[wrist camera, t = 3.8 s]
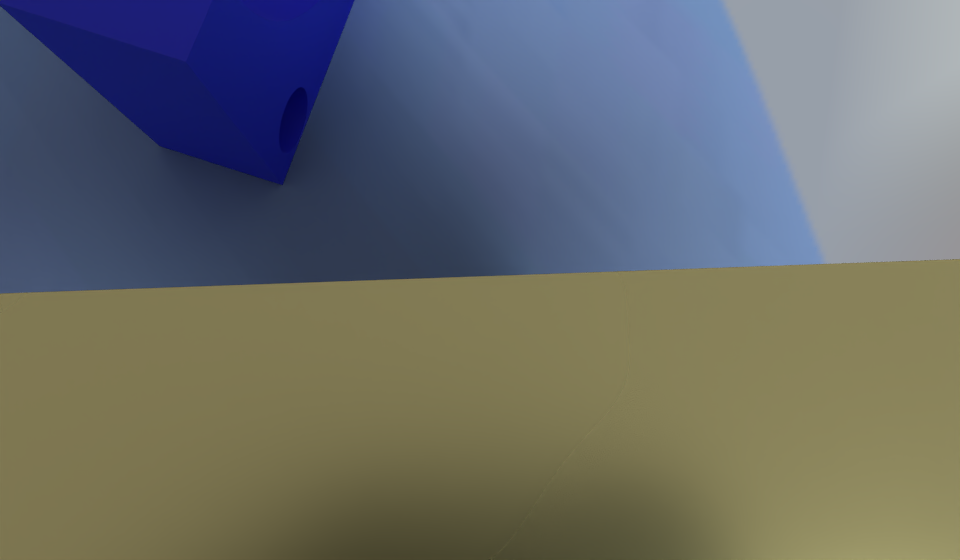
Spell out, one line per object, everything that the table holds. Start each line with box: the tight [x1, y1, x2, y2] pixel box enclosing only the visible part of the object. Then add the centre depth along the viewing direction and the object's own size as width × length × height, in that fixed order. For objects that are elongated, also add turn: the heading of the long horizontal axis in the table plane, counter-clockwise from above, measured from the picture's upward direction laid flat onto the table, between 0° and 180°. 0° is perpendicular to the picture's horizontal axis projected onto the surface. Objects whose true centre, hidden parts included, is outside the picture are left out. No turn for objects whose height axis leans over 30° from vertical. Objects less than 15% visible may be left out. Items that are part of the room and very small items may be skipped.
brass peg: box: [0, 259, 960, 560], centre depth 9 cm, size 4×4×13 cm
